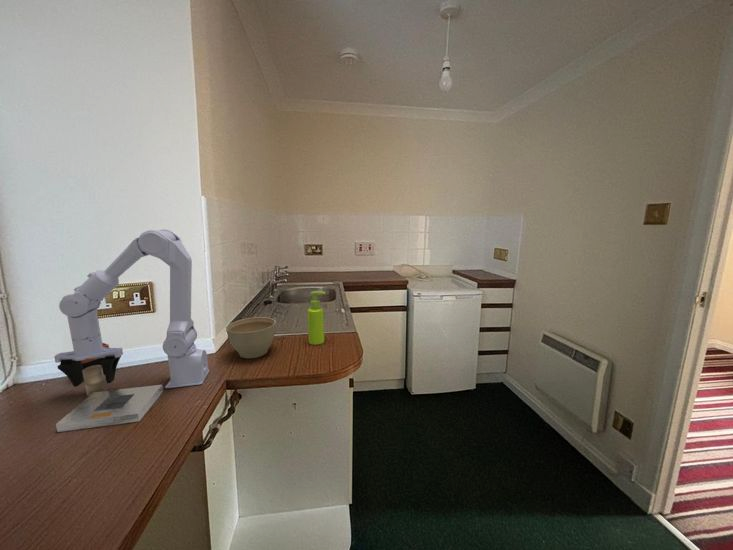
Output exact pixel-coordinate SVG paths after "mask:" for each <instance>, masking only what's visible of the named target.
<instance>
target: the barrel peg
mask: <svg viewBox="0 0 733 550" xmlns="http://www.w3.org/2000/svg"><path fill="white" fill-rule="evenodd" d="M82 372H83V377H84V379H83V383H84V387H85V392H86V396H88V397H89V396H90V395H91V394H93V393H94V392H100V391H107V387H106V379H105V374H103V368H102V366H101V365H94V366H90V367H87V368H85V369H83V370H82Z"/></svg>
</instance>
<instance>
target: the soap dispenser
mask: <svg viewBox="0 0 733 550" xmlns="http://www.w3.org/2000/svg"><path fill="white" fill-rule="evenodd" d="M325 294H326V292H325V291H322V290H321V291H320V290H318V291H317V290H314V291H310V295H312V299H311V300H310V308H308V309H307V324H308V325H307V327H308V344H310V345H314V346H315V345H318V346H319V345H321V344H323V343H324V342H325V328H324V327H325V325H324V324H325V323H324V322H325V321H324V308H323V307H321V305H320V303H321V302H320V299H319V298H318V295H325Z"/></svg>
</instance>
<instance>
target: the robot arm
mask: <svg viewBox="0 0 733 550" xmlns="http://www.w3.org/2000/svg"><path fill="white" fill-rule="evenodd" d="M147 256H152V257H155V258H157V259H160V260H161V261H162V262H164V263H165V264H166V265H168V267H169V324H168V327H167V329H166V337H165V340H164V341H163V343H162V351H163V352H164V353H165V354H166V355H167V360H168V361H167V362H168V368H169V369H168V370H169V375H170V380H169V381H168V383H167V384H166V385H165V387H164V388H165V389H172V388H181V387H189V386H190V387H191V386H196V385H197V386H200V385H203V383H204V381H205V380H206V378H207V377H208V375H209V373H210V370H209V362H208V361H209V360H208V354H207V351H206V349H198V348H197V346H196V344H195V342H196V340H197V338H198V332H197V330H196V329H195V324H194V320H193V319H192V277H193V276H192V268H193V267H192V266H193V264H192V260H193V259H192V257H191V255H190V253H189V252H188V251H187V249H186V247H185V245H184V244H183V242H182V239H181V237H179V236H178V235H177V234H176V233H174V232H172V231H171V230H168V229H159V230H152V229H151V230H146V231H143V232H142V233H141V234H140V235H139V237H135V238H134V239H133V240H132V241H131V242H130V243H129V244H128V245H127V247H126V248H124V250H123V251H122V252H121V253H120V254H119V255H118V256H117V257H116V258H115V259H114V260H113V261H112V263H111V264H110V265H109V266H108V267H107V268H106V269H104V270H103V269H100V270H96V271H93V272H89V273H88V274H87V276H86V277H87V279H86V280H85V281H84V282H83V283H82V284H81V285H80V286H76V287H75V288H74V289H73V291H74V293H72V294H71V293H70V294H67V295H64V296H63V297H62V299H61V300H60V301H59V303H58V304H59V305H58V306H59V307H58V308H59V310H60V312H61V313H62V314H63V315H64V316H67V322H68V326H69V327H68V328H69V332H70V338H71V339H70V340H71V343H72V344H71V345H72V349H73V351H65V352H59V353H57V354H55V355H54V357H53V358H54V362H55V364H57V363H59V364H58V365H57V369H58V370H59V371H60V372H62V373H63V374H64V375H65V376H66V378H68V380H69V381H70V382H71V384H72V386H73V387H74V388H77V387H79V386H80V385H81V384H82V383H83V379H82V374H81V360H85V359H94V358H105V359H104V360H102V361H101V362H100V364H101V366H102V368H103V370H104V372H105V374H104V378H105V383H106V384H111V383H112V382H113V381H115V378H116V370H117V367H118V364H119V361H120V359H121V358H122V355H124V352H123V348H122V347H109V348H105V347H103V345H102V343H103V340H102V334H101V328H100V327H101V326H100V322H99V316H98V314H99V313H98V309H99V307H100V306H101V303H102V301H103V300H104V299H105V298H106V297H108V295H109V294H110V293H111V292H113V290H114V289H115V288H116V287H118V286H119V282H120V281H119V277H120V276H122V275H123V274H124V273H125V272H126V271H127V270H129V269H131V267H132V266H133V265H134V264H135V263H136V262H138V261H139V260H140V259H142V258H144V257H147Z"/></svg>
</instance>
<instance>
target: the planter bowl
mask: <svg viewBox="0 0 733 550" xmlns="http://www.w3.org/2000/svg"><path fill="white" fill-rule="evenodd" d="M276 323H277V322H276V320H275V319H274V318H271V317H266V316H264V317H263V316H256V317H248V318H243V319H239V320H236V321H234V322H231V323H229V324H228V325H227V326H226V327H225V328H226V332H227V336H228V337H227V338H228V340H229V342H230V345H231V346H232V347H233V349H234V350H235V351H236V352H237V353H238V355H239V357H240V358H242V359H256V358H259V357H262V356H264V355H266V354H267V353H268V351H269V348H270V346H271V345H272V343H273V340H274V338H275V334H276V333H275V332H276Z"/></svg>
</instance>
